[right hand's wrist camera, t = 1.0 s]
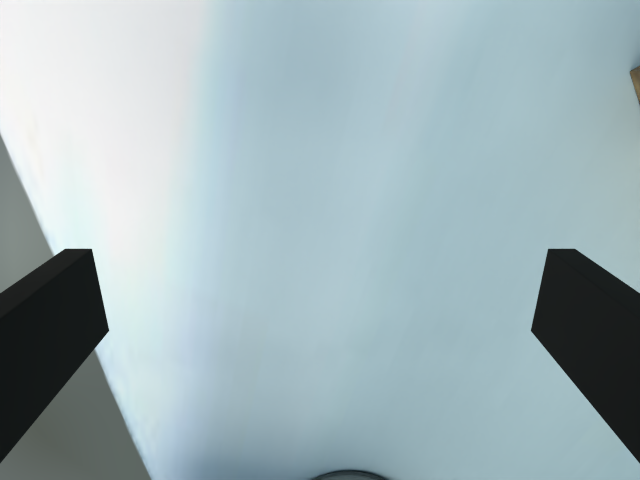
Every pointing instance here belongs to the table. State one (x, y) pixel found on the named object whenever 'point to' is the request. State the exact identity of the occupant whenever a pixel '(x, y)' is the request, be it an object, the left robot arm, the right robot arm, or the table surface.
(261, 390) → the table surface
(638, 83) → the beam
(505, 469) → the table surface
